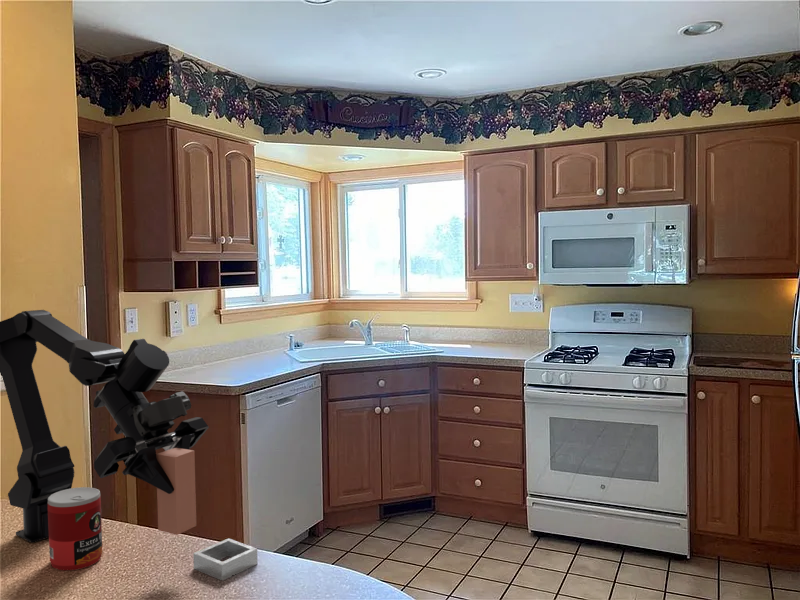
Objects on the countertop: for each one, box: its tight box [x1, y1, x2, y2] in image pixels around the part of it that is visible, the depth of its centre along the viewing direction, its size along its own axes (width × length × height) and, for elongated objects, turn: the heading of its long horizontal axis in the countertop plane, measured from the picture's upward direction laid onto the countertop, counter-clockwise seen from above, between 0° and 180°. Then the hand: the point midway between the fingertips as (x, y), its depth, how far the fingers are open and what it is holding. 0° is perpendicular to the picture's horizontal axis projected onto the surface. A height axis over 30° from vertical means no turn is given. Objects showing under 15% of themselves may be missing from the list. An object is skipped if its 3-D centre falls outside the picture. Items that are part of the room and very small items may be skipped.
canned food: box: [48, 486, 103, 571], centre depth 107 cm, size 8×8×11 cm
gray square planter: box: [192, 538, 258, 581], centre depth 105 cm, size 7×7×2 cm
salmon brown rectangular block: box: [156, 448, 197, 536], centre depth 102 cm, size 4×4×12 cm
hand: (182, 487), depth 102 cm, fingers closed on salmon brown rectangular block, 4 cm apart
